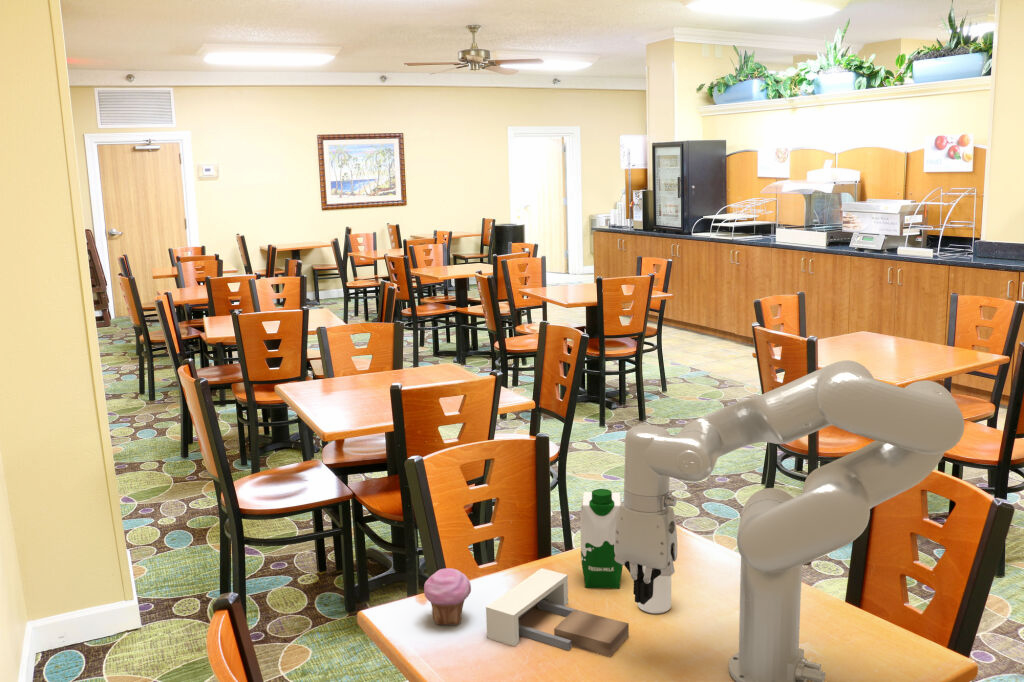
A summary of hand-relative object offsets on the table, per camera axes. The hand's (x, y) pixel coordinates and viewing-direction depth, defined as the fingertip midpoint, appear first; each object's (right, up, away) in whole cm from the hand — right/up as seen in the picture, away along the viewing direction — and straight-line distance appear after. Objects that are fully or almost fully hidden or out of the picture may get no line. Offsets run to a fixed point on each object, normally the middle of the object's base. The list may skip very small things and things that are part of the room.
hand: (643, 600), depth 149 cm
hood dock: (-16, -9, +13) cm, 22 cm away
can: (+5, -7, +19) cm, 21 cm away
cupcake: (-35, -9, +16) cm, 39 cm away
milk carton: (-4, -5, +31) cm, 32 cm away
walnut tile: (-8, -10, +8) cm, 15 cm away
